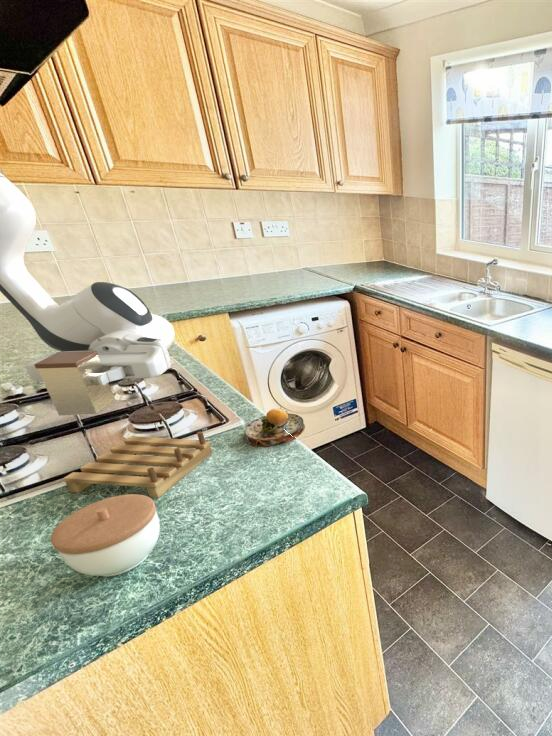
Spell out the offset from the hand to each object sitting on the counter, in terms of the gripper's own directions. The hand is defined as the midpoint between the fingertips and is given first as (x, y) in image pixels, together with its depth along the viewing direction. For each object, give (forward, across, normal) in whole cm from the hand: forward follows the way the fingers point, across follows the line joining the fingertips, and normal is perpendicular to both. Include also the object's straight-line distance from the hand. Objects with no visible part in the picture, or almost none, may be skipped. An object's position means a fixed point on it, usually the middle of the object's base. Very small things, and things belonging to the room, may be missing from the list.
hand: (73, 382), depth 74 cm
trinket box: (+27, +16, +17) cm, 36 cm away
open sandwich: (-7, +28, +17) cm, 34 cm away
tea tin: (-1, 0, +6) cm, 6 cm away
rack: (+5, +9, +17) cm, 20 cm away
